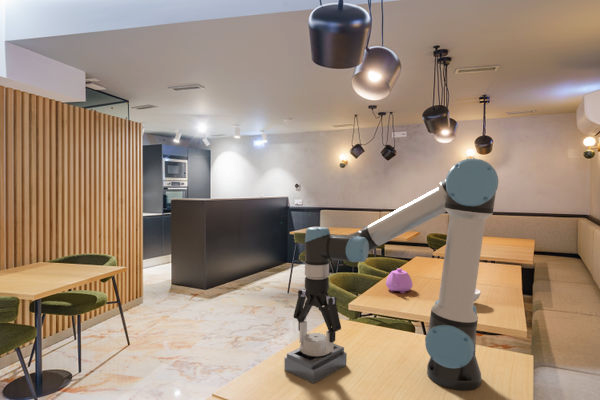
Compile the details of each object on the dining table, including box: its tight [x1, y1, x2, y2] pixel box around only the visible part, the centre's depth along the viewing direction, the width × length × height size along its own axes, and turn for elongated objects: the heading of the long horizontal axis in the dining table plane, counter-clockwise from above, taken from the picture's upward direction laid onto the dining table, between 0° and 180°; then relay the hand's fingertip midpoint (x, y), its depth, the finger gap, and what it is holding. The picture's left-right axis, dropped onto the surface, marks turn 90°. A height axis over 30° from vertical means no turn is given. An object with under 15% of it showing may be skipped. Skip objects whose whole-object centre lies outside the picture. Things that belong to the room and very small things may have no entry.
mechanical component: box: [299, 332, 329, 356], centre depth 122 cm, size 10×4×10 cm
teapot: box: [385, 267, 413, 294], centre depth 211 cm, size 20×14×12 cm
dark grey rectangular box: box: [283, 343, 347, 385], centre depth 123 cm, size 12×19×6 cm, turn 137°
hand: (316, 346), depth 122 cm, fingers open, 10 cm apart
